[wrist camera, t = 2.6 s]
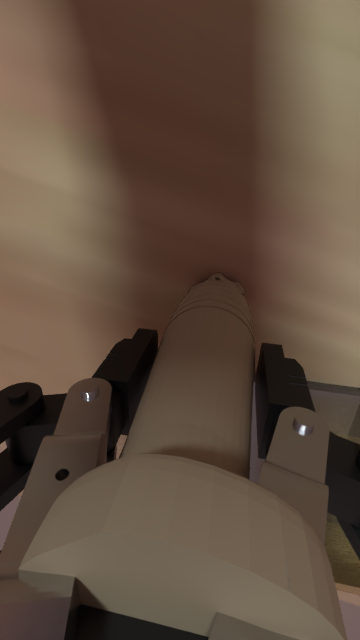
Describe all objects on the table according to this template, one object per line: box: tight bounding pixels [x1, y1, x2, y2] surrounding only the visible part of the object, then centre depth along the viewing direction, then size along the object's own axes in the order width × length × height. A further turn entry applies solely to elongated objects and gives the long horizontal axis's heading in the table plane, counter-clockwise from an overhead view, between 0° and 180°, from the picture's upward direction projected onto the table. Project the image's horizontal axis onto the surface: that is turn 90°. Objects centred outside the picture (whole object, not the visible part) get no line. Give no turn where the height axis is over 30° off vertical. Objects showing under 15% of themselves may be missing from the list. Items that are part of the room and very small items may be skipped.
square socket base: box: [249, 374, 360, 595], centre depth 21 cm, size 16×20×5 cm
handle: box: [19, 273, 347, 640], centre depth 12 cm, size 5×6×15 cm
